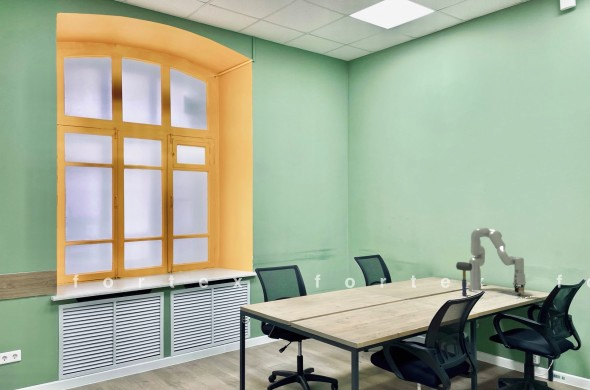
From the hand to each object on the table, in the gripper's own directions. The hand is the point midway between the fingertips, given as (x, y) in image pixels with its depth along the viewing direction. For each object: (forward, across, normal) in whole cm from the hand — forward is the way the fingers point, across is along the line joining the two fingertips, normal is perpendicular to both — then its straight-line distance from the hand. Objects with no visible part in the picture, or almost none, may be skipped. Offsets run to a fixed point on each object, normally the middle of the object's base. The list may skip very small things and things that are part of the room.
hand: (519, 291), depth 393 cm
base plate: (+5, 0, +7) cm, 8 cm away
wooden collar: (+1, 0, 0) cm, 1 cm away
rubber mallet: (+5, -39, +26) cm, 47 cm away
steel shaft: (+3, 0, 0) cm, 3 cm away
